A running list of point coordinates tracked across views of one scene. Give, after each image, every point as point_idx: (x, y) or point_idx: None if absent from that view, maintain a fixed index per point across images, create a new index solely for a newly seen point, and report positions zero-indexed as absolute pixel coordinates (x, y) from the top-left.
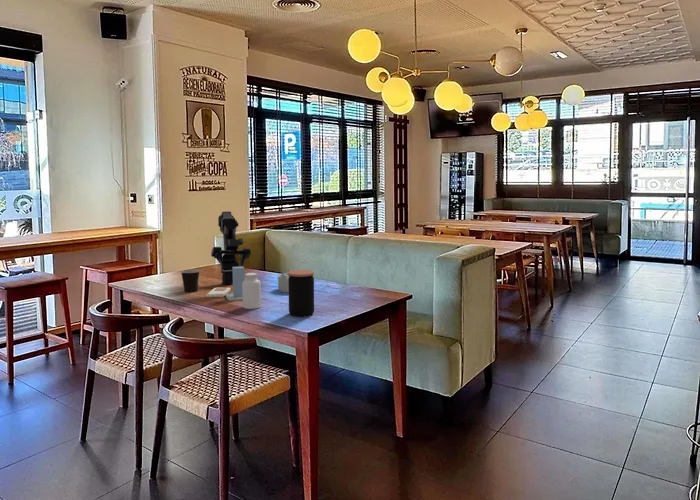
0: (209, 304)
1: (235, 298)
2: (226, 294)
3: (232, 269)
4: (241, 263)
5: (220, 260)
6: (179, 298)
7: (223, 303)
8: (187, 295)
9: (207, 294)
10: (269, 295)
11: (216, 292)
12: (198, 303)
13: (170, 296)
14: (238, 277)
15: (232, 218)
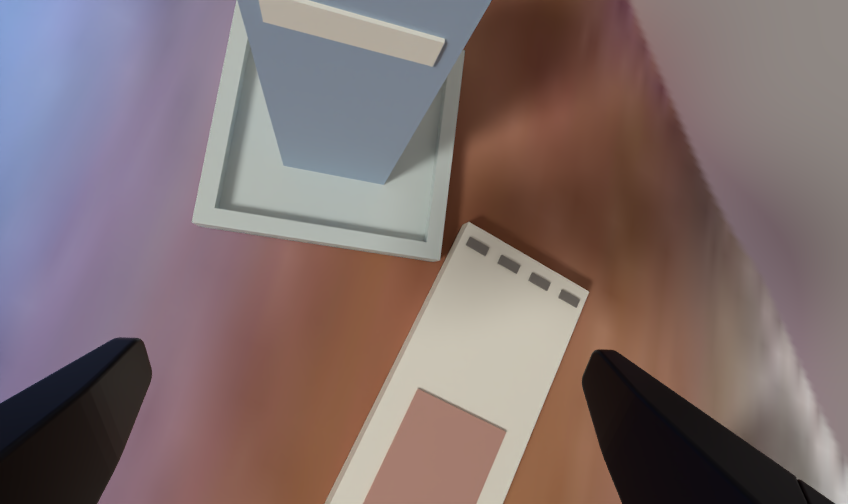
0: (597, 42)
1: None
2: (442, 206)
3: (470, 35)
4: (49, 432)
5: (793, 496)
6: (743, 330)
7: (508, 13)
8: None
9: (578, 301)
10: (15, 58)
11: (497, 349)
12: (654, 111)
13: (788, 426)
14: None
15: None
